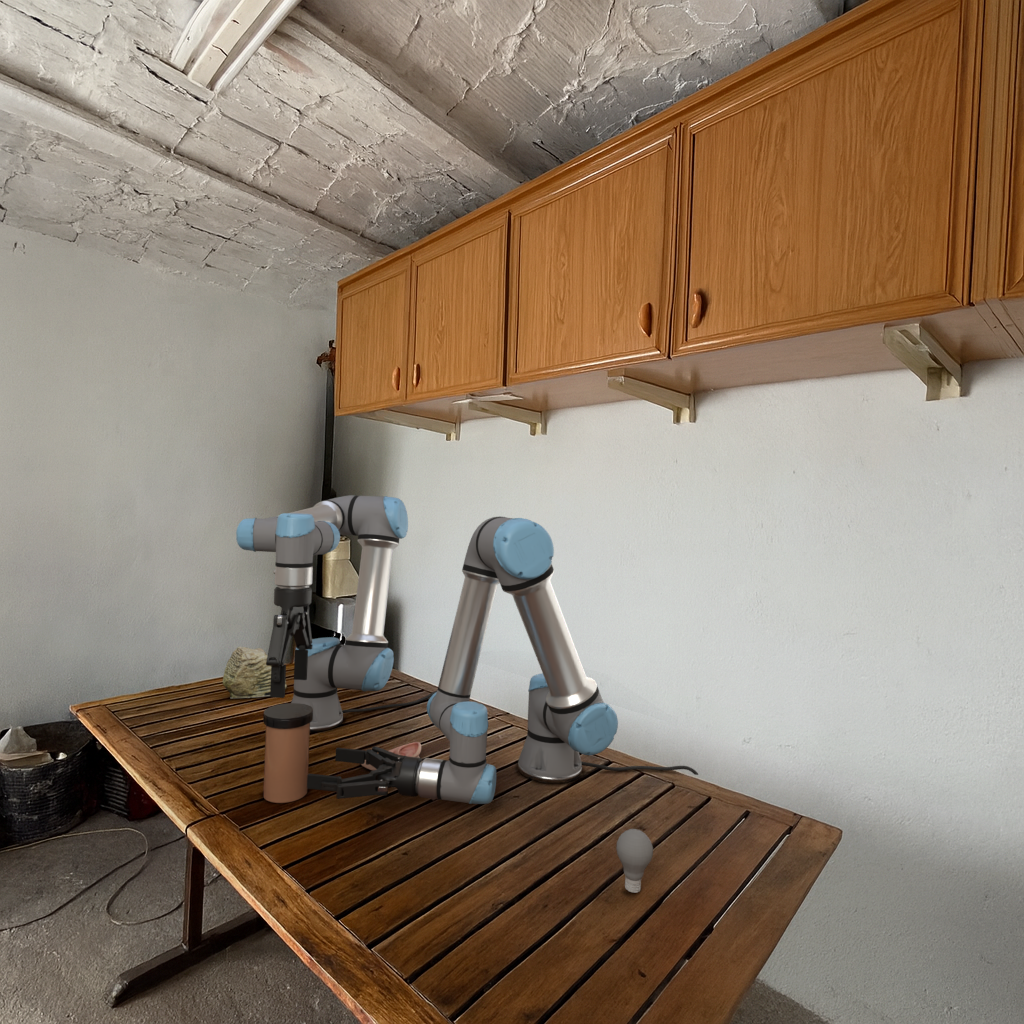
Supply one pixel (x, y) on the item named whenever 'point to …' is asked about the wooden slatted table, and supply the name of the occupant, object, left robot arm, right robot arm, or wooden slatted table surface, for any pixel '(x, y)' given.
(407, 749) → the anatomical model
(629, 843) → the light bulb
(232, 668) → the fossil
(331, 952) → the wooden slatted table surface
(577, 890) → the wooden slatted table surface
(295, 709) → the lid
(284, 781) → the jar
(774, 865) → the wooden slatted table surface
